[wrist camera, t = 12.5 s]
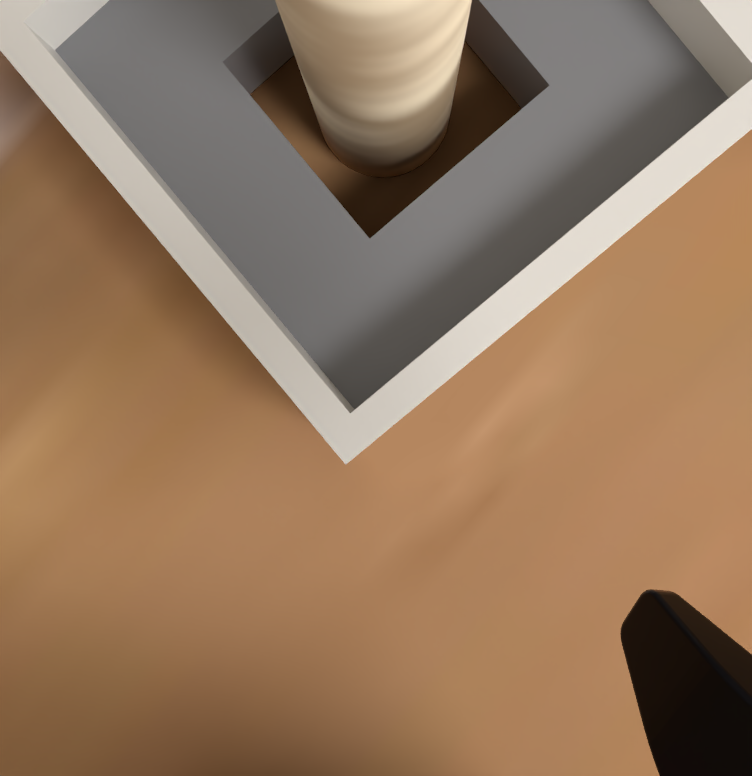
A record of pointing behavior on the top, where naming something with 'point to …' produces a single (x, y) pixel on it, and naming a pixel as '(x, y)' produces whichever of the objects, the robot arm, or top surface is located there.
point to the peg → (379, 75)
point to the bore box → (425, 214)
